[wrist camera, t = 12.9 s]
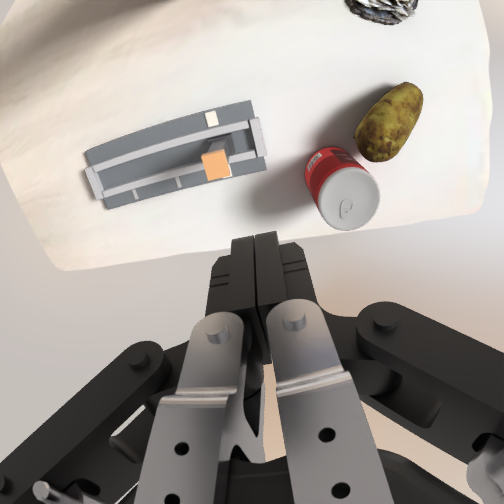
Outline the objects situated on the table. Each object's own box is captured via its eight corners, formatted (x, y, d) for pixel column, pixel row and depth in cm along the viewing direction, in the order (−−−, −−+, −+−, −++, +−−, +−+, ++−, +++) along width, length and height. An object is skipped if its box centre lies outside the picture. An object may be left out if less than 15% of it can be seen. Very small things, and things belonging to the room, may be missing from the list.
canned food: (304, 198, 47) (319, 234, 38) (302, 146, 43) (317, 170, 34) (353, 194, 47) (378, 228, 38) (354, 144, 43) (382, 167, 34)
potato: (425, 126, 41) (453, 138, 34) (355, 159, 44) (374, 177, 37) (406, 76, 37) (434, 80, 30) (332, 109, 40) (348, 118, 33)
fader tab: (209, 137, 41) (198, 157, 32) (230, 132, 41) (226, 150, 32) (214, 156, 42) (205, 181, 34) (235, 151, 42) (232, 175, 33)
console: (86, 150, 42) (79, 154, 40) (254, 99, 40) (254, 100, 37) (108, 207, 47) (102, 214, 45) (269, 166, 45) (270, 171, 43)
